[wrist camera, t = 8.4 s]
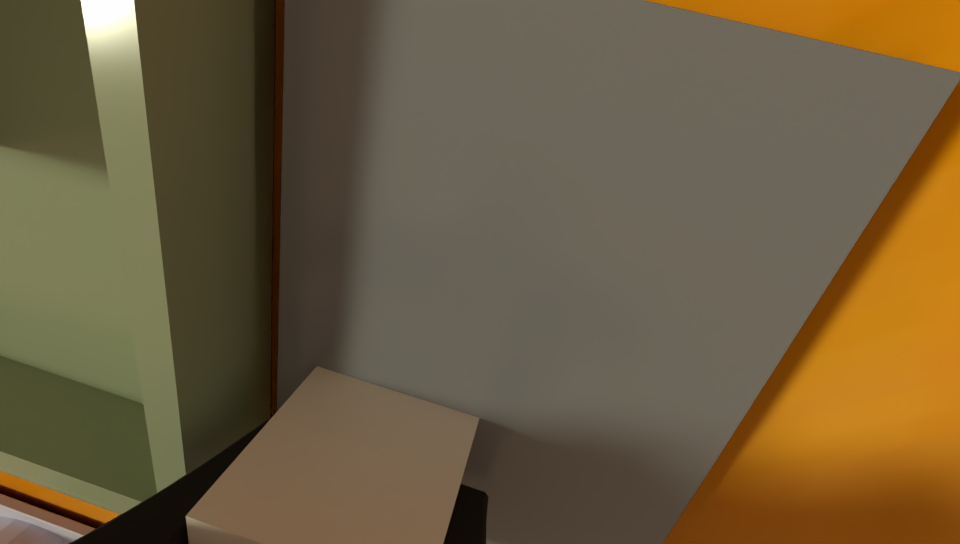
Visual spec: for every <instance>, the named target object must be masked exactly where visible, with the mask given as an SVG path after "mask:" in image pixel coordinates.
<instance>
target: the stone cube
mask: <svg viewBox="0 0 960 544" xmlns="http://www.w3.org/2000/svg"><path fill="white" fill-rule="evenodd" d="M478 422H479V417H475V416H472V415H469V414H466V413H463V412H460V411H457V410H453V409H450V408H447V407H444V406H441V405H438V404H435V403H431V402H428V401H425V400H422V399H419V398H416V397H413V396H409V395H406V394H403V393H400V392H397V391H394V390H391V389H387V388H384V387H381V386H378V385H375V384H372V383H369V382H365V381H362V380H359V379H356V378H353V377H350V376H347V375H343V374H340V373H337V372H334V371H331V370H328V369H325V368H321V367H318V366H317V367H316V368H315V369H314V370H313V371H312V372H311V373H310V375H309V376H308V377H307V378H306V379H305V380H304V381H303V383H302V384H301V385H300V386H299V387H298V388H297V389H296V391H295V392H294V393H293V394H292V395H291V396H290V397H289V399H288V400H287V401H286V402H285V403H284V404H283V405H282V407H281V408H280V409H279V410H278V411H277V412H276V413H275V415H274V416H273V417H272V418H271V419H270V420H269V421H268V423H267V424H266V425H265V426H264V427H263V428H262V429H261V431H260V432H259V433H258V434H257V435H256V436H255V437H254V439H253V440H252V441H251V442H250V443H249V444H248V445H247V447H246V448H245V449H244V450H243V451H242V452H241V453H240V455H239V456H238V457H237V458H236V459H235V460H234V461H233V462H232V464H231V465H230V466H229V467H228V468H227V469H226V470H225V472H224V473H223V474H222V475H221V476H220V477H219V478H218V480H217V481H216V482H215V483H214V484H213V485H212V486H211V488H210V489H209V490H208V491H207V492H206V493H205V494H204V496H203V497H202V498H201V499H200V500H199V501H198V502H197V504H196V505H195V506H194V507H193V508H192V509H191V510H190V512H189V513H188V514H187V515H186V524H187V532H188V541H189V544H443V543H444V539H445V536H446V533H447V529H448V526H449V522H450V519H451V515H452V512H453V508H454V505H455V501H456V498H457V494H458V491H459V487H460V484H461V480H462V477H463V474H464V470H465V467H466V463H467V460H468V456H469V453H470V449H471V446H472V442H473V439H474V435H475V432H476V428H477V425H478Z"/></svg>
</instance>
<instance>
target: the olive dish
mask: <svg viewBox="0 0 960 544" xmlns="http://www.w3.org/2000/svg"><path fill="white" fill-rule="evenodd" d="M274 42H275V0H0V471H2V472H5V473H8V474H10V475H13V476H16V477H19V478H21V479H24V480H27V481H30V482H32V483H35V484H38V485H41V486H43V487H46V488H49V489H52V490H54V491H57V492H60V493H63V494H65V495H68V496H71V497H74V498H76V499H79V500H82V501H85V502H87V503H90V504H93V505H96V506H99V507H101V508H104V509H107V510H110V511H112V512H115V513H118V514H122V513H124V512H126V511H128V510H129V509H131V508H133V507H134V506H136V505H138V504H139V503H141V502H143V501H144V500H146V499H148V498H149V497H151V496H153V495H154V494H156V493H158V492H159V491H161V490H162V489H164V488H166V487H167V486H169V485H170V484H172V483H174V482H175V481H177V480H178V479H180V478H181V477H183V476H184V475H186V474H187V473H189V472H191V471H192V470H194V469H195V468H197V467H198V466H200V465H201V464H203V463H204V462H206V461H207V460H209V459H210V458H212V457H213V456H215V455H216V454H218V453H219V452H221V451H222V450H224V449H225V448H227V447H228V446H230V445H231V444H233V443H234V442H235V441H237V440H238V439H240V438H241V437H243V436H244V435H246V434H247V433H249V432H250V431H251V430H253V429H254V428H256V427H257V426H259V425H260V424H262V423H263V422H265V421H267V420H270V402H271V312H272V222H273V132H274Z"/></svg>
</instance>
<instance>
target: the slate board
mask: <svg viewBox="0 0 960 544" xmlns="http://www.w3.org/2000/svg"><path fill="white" fill-rule="evenodd" d="M959 81H960V72H956V71H951V70H947V69H943V68H938V67H934V66H930V65H925V64H921V63H916V62H912V61H908V60H903V59H899V58H894V57H890V56H886V55H881V54H877V53H872V52H868V51H864V50H859V49H855V48H851V47H846V46H842V45H837V44H833V43H829V42H824V41H820V40H815V39H811V38H807V37H802V36H798V35H793V34H789V33H785V32H780V31H776V30H772V29H767V28H763V27H758V26H754V25H750V24H745V23H741V22H736V21H732V20H728V19H723V18H719V17H715V16H710V15H706V14H701V13H697V12H693V11H688V10H684V9H679V8H675V7H671V6H666V5H662V4H657V3H653V2H649V1H644V0H285V20H284V71H283V122H282V173H281V224H280V275H279V326H278V377H277V411H278V410H279V409H280V408H281V407H282V405H283V404H284V403H285V402H286V401H287V400H288V399H289V397H290V396H291V395H292V394H293V393H294V392H295V391H296V389H297V388H298V387H299V386H300V385H301V384H302V383H303V381H304V380H305V379H306V378H307V377H308V376H309V375H310V373H311V372H312V371H313V370H314V369H315V368H316V367H317V366H318V367H321V368H325V369H328V370H331V371H334V372H337V373H340V374H343V375H347V376H350V377H353V378H356V379H359V380H362V381H365V382H369V383H372V384H375V385H378V386H381V387H384V388H387V389H391V390H394V391H397V392H400V393H403V394H406V395H409V396H413V397H416V398H419V399H422V400H425V401H428V402H431V403H435V404H438V405H441V406H444V407H447V408H450V409H453V410H457V411H460V412H463V413H466V414H469V415H472V416H475V417H479V422H478V425H477V428H476V432H475V435H474V439H473V442H472V446H471V449H470V453H469V456H468V460H467V463H466V467H465V470H464V474H463V477H462V480H461V484H463V485H466V486H469V487H472V488H475V489H478V490H481V491H484V492H486V494H487V495H488V497H489V498H488V506H487V520H486V544H663V543H664V541H665V539H666V538H667V536H668V535H669V533H670V532H671V530H672V528H673V527H674V525H675V524H676V522H677V521H678V519H679V518H680V516H681V514H682V513H683V511H684V510H685V508H686V507H687V505H688V504H689V502H690V500H691V499H692V497H693V496H694V494H695V493H696V491H697V489H698V488H699V486H700V485H701V483H702V482H703V480H704V479H705V477H706V475H707V474H708V472H709V471H710V469H711V468H712V466H713V465H714V463H715V461H716V460H717V458H718V457H719V455H720V454H721V452H722V450H723V449H724V447H725V446H726V444H727V443H728V441H729V440H730V438H731V436H732V435H733V433H734V432H735V430H736V429H737V427H738V426H739V424H740V422H741V421H742V419H743V418H744V416H745V415H746V413H747V411H748V410H749V408H750V407H751V405H752V404H753V402H754V401H755V399H756V397H757V396H758V394H759V393H760V391H761V390H762V388H763V386H764V385H765V383H766V382H767V380H768V379H769V377H770V376H771V374H772V372H773V371H774V369H775V368H776V366H777V365H778V363H779V362H780V360H781V358H782V357H783V355H784V354H785V352H786V351H787V349H788V347H789V346H790V344H791V343H792V341H793V340H794V338H795V337H796V335H797V333H798V332H799V330H800V329H801V327H802V326H803V324H804V323H805V321H806V319H807V318H808V316H809V315H810V313H811V312H812V310H813V308H814V307H815V305H816V304H817V302H818V301H819V299H820V298H821V296H822V294H823V293H824V291H825V290H826V288H827V287H828V285H829V283H830V282H831V280H832V279H833V277H834V276H835V274H836V273H837V271H838V269H839V268H840V266H841V265H842V263H843V262H844V260H845V259H846V257H847V255H848V254H849V252H850V251H851V249H852V248H853V246H854V244H855V243H856V241H857V240H858V238H859V237H860V235H861V234H862V232H863V230H864V229H865V227H866V226H867V224H868V223H869V221H870V220H871V218H872V216H873V215H874V213H875V212H876V210H877V209H878V207H879V205H880V204H881V202H882V201H883V199H884V198H885V196H886V195H887V193H888V191H889V190H890V188H891V187H892V185H893V184H894V182H895V181H896V179H897V177H898V176H899V174H900V173H901V171H902V170H903V168H904V166H905V165H906V163H907V162H908V160H909V159H910V157H911V156H912V154H913V152H914V151H915V149H916V148H917V146H918V145H919V143H920V141H921V140H922V138H923V137H924V135H925V134H926V132H927V131H928V129H929V127H930V126H931V124H932V123H933V121H934V120H935V118H936V117H937V115H938V113H939V112H940V110H941V109H942V107H943V106H944V104H945V102H946V101H947V99H948V98H949V96H950V95H951V93H952V92H953V90H954V88H955V87H956V85H957V84H958V82H959Z"/></svg>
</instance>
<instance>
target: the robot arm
mask: <svg viewBox="0 0 960 544" xmlns="http://www.w3.org/2000/svg"><path fill="white" fill-rule="evenodd" d="M268 421H269V420H267V421H265V422H263V423H262V424H260V425H259V426H257V427H256V428H254V429H253V430H251V431H250V432H249V433H247V434H246V435H244V436H243V437H241V438H240V439H238V440H237V441H235V442H234V443H233V444H231V445H230V446H228V447H227V448H225V449H224V450H222V451H221V452H219V453H218V454H216V455H215V456H213V457H212V458H210V459H209V460H207V461H206V462H204V463H203V464H201V465H200V466H198V467H197V468H195V469H194V470H192V471H191V472H189V473H187V474H186V475H184V476H183V477H181V478H180V479H178V480H177V481H175V482H174V483H172V484H170V485H169V486H167V487H166V488H164V489H162V490H161V491H159V492H158V493H156V494H154V495H153V496H151V497H149V498H148V499H146V500H144V501H143V502H141V503H139V504H138V505H136V506H134V507H133V508H131V509H129V510H128V511H126V512H124V513H122V514H121V515H119V516H117V517H116V518H114V519H112V520H111V521H109V522H107V523H105V524H104V525H102V526H100V527H98V528H93V527H90V526H87V525H85V524H82V523H79V522H76V521H74V520H71V519H68V518H66V517H63V516H60V515H57V514H55V513H52V512H49V511H47V510H44V509H41V508H38V507H36V506H33V505H30V504H28V503H25V502H22V501H19V500H17V499H14V498H11V497H9V496H6V495H3V494H0V544H189V541H188V532H187V524H186V515H187V514H188V513H189V512H190V510H191V509H192V508H193V507H194V506H195V505H196V504H197V502H198V501H199V500H200V499H201V498H202V497H203V496H204V494H205V493H206V492H207V491H208V490H209V489H210V488H211V486H212V485H213V484H214V483H215V482H216V481H217V480H218V478H219V477H220V476H221V475H222V474H223V473H224V472H225V470H226V469H227V468H228V467H229V466H230V465H231V464H232V462H233V461H234V460H235V459H236V458H237V457H238V456H239V455H240V453H241V452H242V451H243V450H244V449H245V448H246V447H247V445H248V444H249V443H250V442H251V441H252V440H253V439H254V437H255V436H256V435H257V434H258V433H259V432H260V431H261V429H262V428H263V427H264V426H265V425H266V424H267V423H268ZM488 498H489V497H488V495H487V494H486V492H484V491H481V490H478V489H475V488H472V487H469V486H466V485H463V484H460V487H459V491H458V494H457V498H456V501H455V505H454V508H453V512H452V515H451V519H450V522H449V526H448V529H447V533H446V536H445V539H444V543H443V544H486V520H487V506H488Z"/></svg>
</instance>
